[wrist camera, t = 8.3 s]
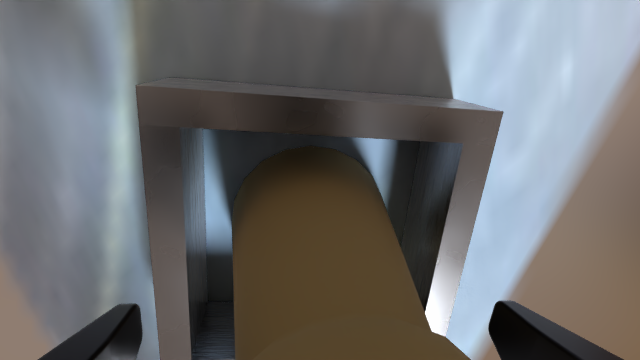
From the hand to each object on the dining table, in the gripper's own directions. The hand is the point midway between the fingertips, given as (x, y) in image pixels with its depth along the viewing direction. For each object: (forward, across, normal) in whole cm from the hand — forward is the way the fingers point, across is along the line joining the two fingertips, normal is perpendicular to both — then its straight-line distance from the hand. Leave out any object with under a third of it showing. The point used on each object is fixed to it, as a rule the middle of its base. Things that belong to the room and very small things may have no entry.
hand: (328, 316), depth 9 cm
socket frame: (+6, 0, 0) cm, 6 cm away
